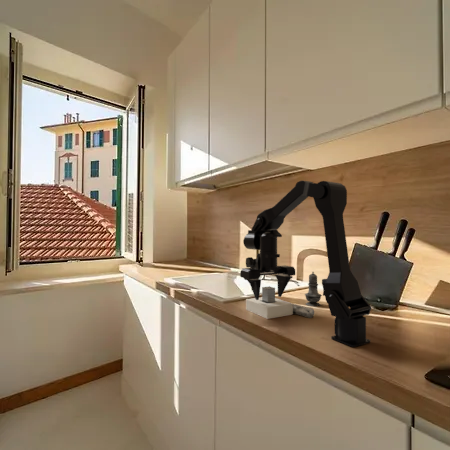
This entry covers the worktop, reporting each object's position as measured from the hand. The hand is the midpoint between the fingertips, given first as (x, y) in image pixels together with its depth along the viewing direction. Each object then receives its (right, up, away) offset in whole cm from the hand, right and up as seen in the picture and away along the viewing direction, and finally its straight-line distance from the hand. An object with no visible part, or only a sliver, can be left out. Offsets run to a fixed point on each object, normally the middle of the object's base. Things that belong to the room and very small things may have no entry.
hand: (268, 298), depth 97 cm
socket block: (0, -5, 0) cm, 4 cm away
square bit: (0, -5, 0) cm, 5 cm away
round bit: (+11, -4, -2) cm, 12 cm away
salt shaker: (+18, -5, +10) cm, 21 cm away
